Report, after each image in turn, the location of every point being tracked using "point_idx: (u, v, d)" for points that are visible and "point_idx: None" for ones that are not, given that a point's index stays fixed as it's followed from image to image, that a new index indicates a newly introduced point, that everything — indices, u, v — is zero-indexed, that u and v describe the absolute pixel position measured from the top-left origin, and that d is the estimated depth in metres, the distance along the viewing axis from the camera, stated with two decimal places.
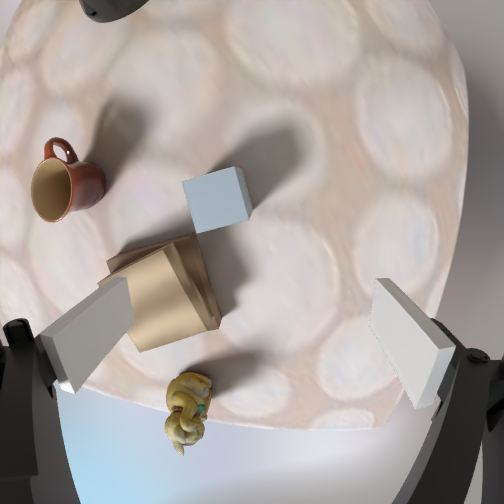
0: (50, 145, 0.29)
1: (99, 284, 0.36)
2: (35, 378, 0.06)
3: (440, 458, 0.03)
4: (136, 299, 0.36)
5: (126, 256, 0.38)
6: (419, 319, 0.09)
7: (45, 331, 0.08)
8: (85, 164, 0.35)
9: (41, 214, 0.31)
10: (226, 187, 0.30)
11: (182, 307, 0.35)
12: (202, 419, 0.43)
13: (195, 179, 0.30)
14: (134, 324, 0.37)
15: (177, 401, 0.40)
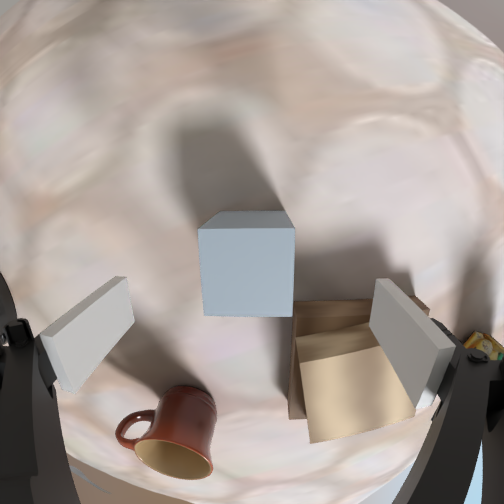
0: (122, 440, 0.24)
1: (313, 441, 0.24)
2: (35, 378, 0.06)
3: (440, 458, 0.03)
4: (351, 408, 0.23)
5: (292, 397, 0.27)
6: (419, 319, 0.09)
7: (45, 331, 0.08)
8: (160, 406, 0.28)
9: (199, 476, 0.24)
10: (230, 250, 0.18)
11: None
12: None
13: (205, 294, 0.19)
14: (380, 416, 0.23)
15: None
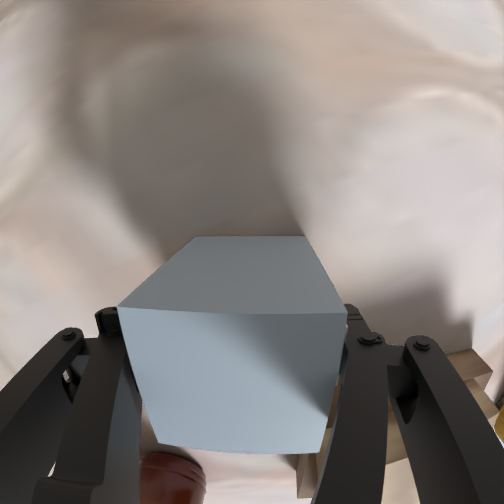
0: None
1: None
2: (124, 373, 0.07)
3: (343, 445, 0.04)
4: (382, 502, 0.12)
5: (303, 481, 0.17)
6: None
7: None
8: None
9: None
10: (191, 356, 0.07)
11: None
12: None
13: (153, 418, 0.08)
14: (415, 500, 0.13)
15: None
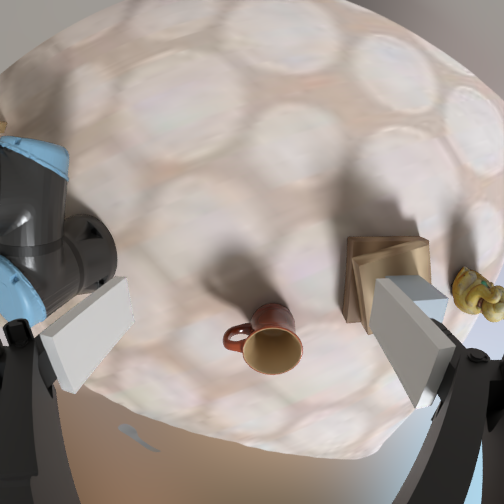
0: (231, 342, 0.40)
1: (369, 333, 0.41)
2: (35, 378, 0.06)
3: (440, 458, 0.03)
4: None
5: (349, 302, 0.44)
6: (419, 319, 0.09)
7: (45, 331, 0.08)
8: (257, 316, 0.45)
9: (288, 368, 0.40)
10: (422, 310, 0.30)
11: (407, 261, 0.37)
12: (492, 287, 0.38)
13: None
14: None
15: (474, 301, 0.38)
